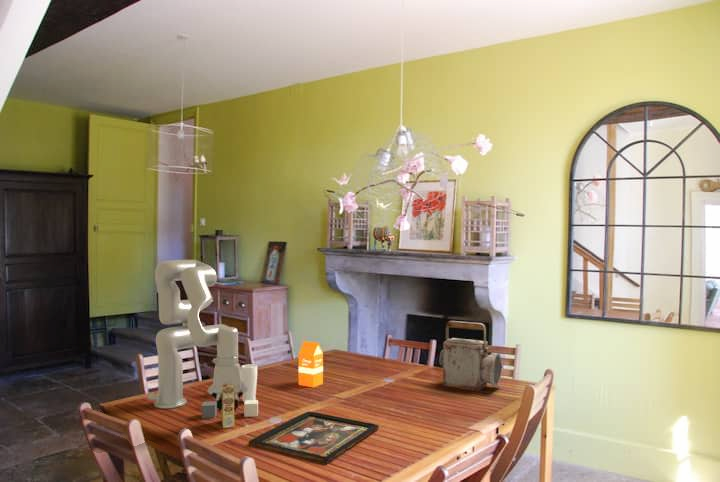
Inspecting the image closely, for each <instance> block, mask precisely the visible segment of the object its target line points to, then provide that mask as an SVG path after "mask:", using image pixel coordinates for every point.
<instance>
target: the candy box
mask: <svg viewBox="0 0 720 482" xmlns="http://www.w3.org/2000/svg"><path fill="white" fill-rule="evenodd" d="M220 397H221V411H220V412H221V424H222V428H223V429H228V428H235V411H234V399H235V396H234V385H223V393H221V396H220Z"/></svg>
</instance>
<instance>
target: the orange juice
mask: <svg viewBox="0 0 720 482" xmlns="http://www.w3.org/2000/svg"><path fill="white" fill-rule="evenodd" d="M323 358H324V353H323V351H322V348H321V346H320V344H319V342H313V341H306V340H304V341H303V342H302V345H301V348H300V351H299V353H298V385H299V386H304V387H310V388H316V387H318V386H320V385H323V384H324V359H323Z"/></svg>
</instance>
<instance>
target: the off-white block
mask: <svg viewBox="0 0 720 482" xmlns="http://www.w3.org/2000/svg"><path fill="white" fill-rule="evenodd" d="M243 403H244V404H243V405H244V406H243V407H244V409H243V410H244V413H243V417H244V418H248V417H249V418H251V417H253V418H254V417H258V415H259V400H258V399H256V400H245V402H243Z"/></svg>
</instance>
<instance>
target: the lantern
mask: <svg viewBox="0 0 720 482" xmlns="http://www.w3.org/2000/svg"><path fill="white" fill-rule="evenodd" d="M449 328H454V329H455V328H456V329H466V330H476V331H477V330H478V331H483V340H478V339H468V338H467V339H466V338H457V337H452V338H449ZM488 343H489V342H488V341H487V328H486V325H485V324H484V323H481V322H474V321H473V322H471V321H470V322H469V321H461V320H460V321H457V320H449V321H447V323H446V325H445V340H444V341H443V343H442V344H443V345H442V346H443V347H442V348H443V349H442V350H441V351H440V354H439V359H438V361H439V365H440V367H442V368H443V371H442V372H443V373H442V375H443V377H442V379H443V380H442V383H443V385H442V386H443V387H448V388H455V389H460V390H467V391H473V392H474V391H475V392H481V391H482V390H483V389H485V388H486V387H487V386H488V384H489V385H491V386H492V387H499V385H500V382H501V378H502V372H503V371H502V369H503V363H502V362H503V361H502V357H501V354H500V353H499V352H494V353H491V354H488V353H489V350H490V348H489V347H488V346H489V345H488Z"/></svg>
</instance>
